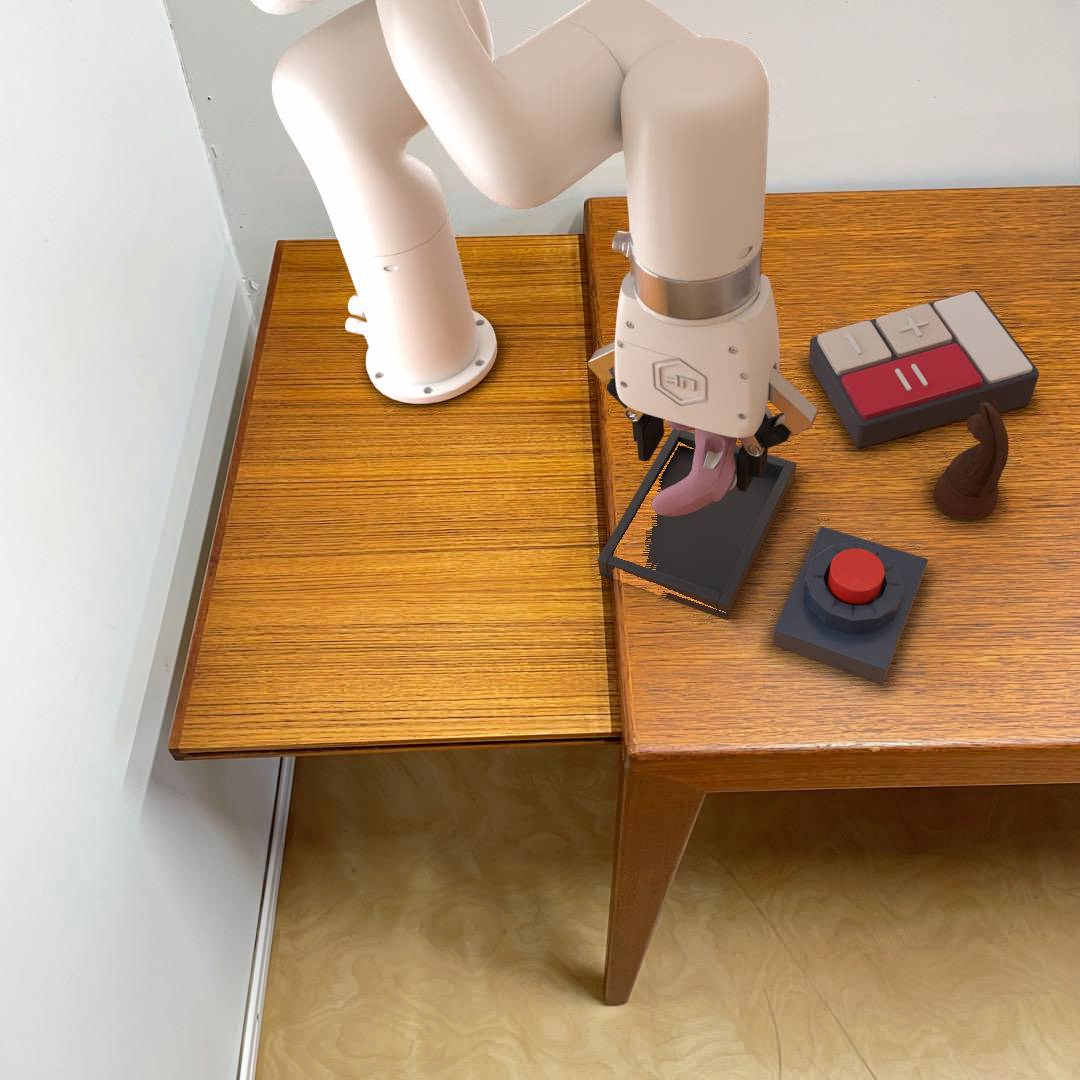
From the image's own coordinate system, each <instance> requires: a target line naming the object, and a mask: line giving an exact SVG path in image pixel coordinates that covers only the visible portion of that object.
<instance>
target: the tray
mask: <svg viewBox="0 0 1080 1080" xmlns="http://www.w3.org/2000/svg"><path fill="white" fill-rule="evenodd" d="M678 442H681V443H683V444H685V445H687V446H689V447H692V448H694V449H695V448H696V445H695V432H692V431H679V430H675V429H672V430H671V432H670V433H669V435H668V437H667V439H666V440H665V442H664V444H663V445H662V447H661V449H660V451H659V452H658V454H657V456H656V458H655V459H654V461H653V463H652V465H651V466H650V468H649V470H648V471H647V473H646V475H645V476H644V479H643V480H642V482H641V483H640V485H639V486H638V488H637V490H636V492H635V494H634V495H633V497H632V499H631V501H630V502H629V504H628V506H627V508H626V509H625V511H624V513H623V514H622V516H621V518H620V520H619V522H618V523H617V525H618V526H617V525H616V526H615V528H614V530H613V532H612V534H611V536H610V537H609V539H608V540H607V542H606V544H605V546H604V547H603V549H602V551H601V552H600V553H599V556H598V558H597V565H598V573H599V575H600V576H602V577H606V578H607V579H611V580H614V579H613V573H612V570H613V569H614V568H615V567H616V568H617V567H618V568H619V569H622V570H623V571H625V572H628V573H630V574H633V575H635V576H637V577H640V578H642V579H646V580H647V581H649V582H653V583H656V584H658V585H660V586H663V587H665V588H667V589H669V590H673V591H675V592H678V593H679V594H682V595H684V596H686V597H690V598H692V599H694V600H697V601H700V602H702V603H704V604H706V605H708V606H711V607H713V608H716V609H717V610H716V609H713V608H710V607H708V606H705V605H702V604H699V603H696V602H694V601H691V600H688V599H685V598H682V597H679V596H677V595H674V594H671V593H662V594H667V595H661V596H666V597H663V598H664V599H665V600H666V599H667V600H669V601H672V602H675V603H678V604H680V605H682V606H686V607H689V608H692V609H694V610H697V611H699V612H703V613H705V614H708V615H711V616H713V617H717V618H718V619H719V618H720V619H721V620H725V621H728V620H729V618H730V616H731V614H732V612H733V610H734V608H735V606H736V603H737V601H738V600H739V598H740V595H741V593H742V590H743V589H744V587H745V585H746V582H747V580H748V578H749V576H750V574H751V572H752V570H753V568H754V566H755V564H756V562H757V560H758V557H759V556H760V554H761V551H762V549H763V547H764V545H765V543H766V541H767V538H768V536H769V534H770V533H771V530H772V528H773V526H774V523H775V522H776V520H777V517H778V516H779V513H780V512H781V509H782V507H783V505H784V503H785V501H786V499H787V497H788V494H789V493H790V490H791V489H792V486H793V485H794V482H795V480H796V472H797V462H795V461H792V460H788V459H785V458H782V457H778V456H775V455H771V454H768V456H767V464H766V468H765V470H764V472H763V474H762V476H761V478H757V477H753V479H752V481H751V483H750V485H749V487H748V489H747V491H746V492H744V491H740V490H738V488H737V487H736V485H735V486H734V487H733V488H732V489H731V490H729V491H728V490H727V491H726V493H725V495H724V496H723V497H722V498H721V499H720V500H719V501H718V502H711V503H710V504H708V505H706V506H705V507H703V508H701V509H699V510H697V511H694V512H692V513H689V514H685V515H680V516H663V515H659V514H657V515H655V516H657V517H651V518H657V519H652V520H656V521H657V522H652V523H657V524H652V525H657V526H652V527H653V528H652V529H650V530H652V531H646V532H652V533H646V534H652V535H646V536H650V537H646V538H647V539H646V540H645V541H651V542H645V543H652V544H645V545H649V546H650V547H649V546H646V547H647V548H650V549H645V550H650V551H643V552H649V553H643V554H649V555H642V556H648V558H649V559H647V562H646V563H652V564H646V565H651V566H645V567H643V566H640V565H637V564H635V563H632V562H629V561H626V560H623V559H620V558H617V557H614V556H613V554H614V551H615V549H616V547H617V545H618V543H619V542H620V540H621V539H622V537H623V535H624V534H625V532H626V530H627V529H628V527H629V525H630V523H631V522H632V520H633V518H634V517H635V515H636V513H637V511H638V509H639V508H640V506H641V504H642V502H643V501H644V499H645V497H646V495H647V494H648V493H649V491H650V489H651V487H652V485H653V484H654V483H655V481H656V479H657V478H658V476H659V474H660V473H661V471H662V470H663V468H664V466H665V464H666V463H667V461H668V460H669V458H670V456H671V455H672V453H673V452H674V450H675V448H676V446H677V444H678ZM740 448H741V445H737V444H736V446H735V450H734V454H733V456H734V458H735V471H734V474H736V476H737V455H738V452H739V450H740ZM694 449H690V448H687V447H684V446H680V445H679V446H678V448H677V450H676V451H675V453H674V455H673V457H672V458H671V460H670V462H669V464H668V465H667V467H666V469H665V471H664V472H663V474H662V476H661V478H662V479H659V481H662V482H659V483H660V484H661V485H660V486H658V487H661V489H658V490H664V489H666V488H668V487H670V486H672V485H675V484H676V483H678V482H680V481H681V480H683V479H685V478H686V477H687V476H688V475H689V474H690V472H691V470H692V465H693V458H694V453H695V450H694ZM657 492H661V491H657ZM648 525H649V524H648ZM648 539H651V540H648ZM652 561H653V562H652ZM657 563H658V564H657ZM654 565H657V566H654ZM646 567H651V568H646ZM653 567H656V568H653ZM652 569H656V570H652ZM658 590H659V589H658ZM663 592H665V591H663ZM661 596H660V597H661ZM719 610H721V611H719ZM722 611H724V612H726V613H724V612H722Z"/></svg>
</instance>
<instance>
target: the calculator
mask: <svg viewBox="0 0 1080 1080" xmlns="http://www.w3.org/2000/svg"><path fill="white" fill-rule="evenodd" d="M808 365H809V366H810V368H811V370H812V372H813V374H814V375H815V377H816V379H817V381H818V382H819V385H820V386H821V388H822V390H823V392H824V393H825V395H826V397H827V398H828V400H829V402H830V404H831V406H832V407H833V409H834V410H835V413H836V414H837V416H838V418H839V420H840V422H841V424H842V425H843V427H844V429H845V430H846V432H847V434H848V436H849V437H850V439H851V441H852V442H853V445H854V446H855V447H856V448H858V449H863V448H867V447H870V446H874V445H877V444H880V443H884V442H888V441H891V440H894V439H897V438H902V437H905V436H908V435H909V436H910V435H912V434H916V433H918V432H922V431H926V430H929V429H932V428H936V427H940V426H942V425H943V426H944V425H946V424H950V423H953V422H956V421H960V420H964V419H967V418H968V417H971V416H975V415H979V414H981V408H980V403H984V402H987V403H989V404H991V405H992V406H993V401H994V400H996V403H997V407H998V411H999V414H1000V413H1004V412H1007V411H1010V410H1014V409H1018V408H1021V407H1025V406H1027V405H1029V404H1030V403H1031V401H1032V398H1033V395H1034V392H1035V389H1036V386H1037V382H1038V379H1039V376H1040V370H1038V367H1036V365H1035V364H1034V363H1033V361H1032V360H1031V359H1030V357H1029V356H1028V355H1027V353H1026V352H1025V350H1024V349H1023V348H1022V347H1021V345H1020V344H1019V343H1018V342H1017V341H1016V339H1015V338H1014V336H1013V335H1012V334H1011V333H1010V332H1009V330H1008V329H1007V328H1006V326H1005V325H1004V324H1003V322H1002V321H1001V320H1000V318H999V317H998V316H997V314H996V313H995V312H994V311H993V309H992V308H991V307H990V306H989V304H988V303H987V301H986V300H985V299H984V297H983V296H982V294H980V292H979V291H977V290H969V291H965V292H962V293H958V294H956V295H952V296H949V297H945V298H942V299H941V298H940V299H938V300H935V301H932V302H931V301H930V302H927V303H922V304H918V305H916V306H911V307H909V308H905V309H901V310H898V311H894V312H891V313H888V314H885V315H880V316H878V317H877V318H873V319H870V320H864V321H860V322H856V323H853V324H850V325H847V326H846V325H845V326H843V327H840V328H836V329H833V330H829V331H825V332H822V333H820V334H818V335H815V336H812V337H811V338H810V340H809V354H808Z"/></svg>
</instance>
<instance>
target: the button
mask: <svg viewBox="0 0 1080 1080" xmlns="http://www.w3.org/2000/svg"><path fill="white" fill-rule="evenodd" d="M884 574H885V570H884V566H883V564H882V562H881V561H880V559H879V558H878V557H877V556H876V555H874V554H873V553H871V552H869V551H867V550H863V549H847V550H844V551H842V552H840V553H839V554H837V555H836V556H835V557H834V559H833V560H832V562H831V566H830V572H829V577H828V585H829V588H830V590H831V592H832V593H833V594H834V596H836V597H837V598H838V599H839V600H841V601H843V602H846V603H849V604H856V605H858V604H865V603H868V602H870V601H872V600H873V599H875V598H876V597H877V596H878V594H879V592H880V590H881V586H882V582H883V579H884Z"/></svg>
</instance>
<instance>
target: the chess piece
mask: <svg viewBox="0 0 1080 1080" xmlns="http://www.w3.org/2000/svg"><path fill="white" fill-rule="evenodd" d="M980 408H981V414H978V415H974V416H971V417H967V418H966V428H967V431H968V432H969V433H970V434H971V435H972V436H973V438H974V439H975V440H976V441H978V442H979V443H977V444H975V445H973V446H971V447H969V448H966V449H965V450H964V451H962V452H960V453H959V454H957V456H955V457H954V458H953V459H952V461H951V462H950V463H949V464H948V465H947V467H946V468H945V469H944V471H943V472H942V473H941V474H940V476H939V477H938V479H937V482H936V483H935V485H934V488H933V493H932V494H933V500H934V503H935V505H936V507H937V508H938V510H939V511H941V512H942V513H943V514H944V515H946V516H947V517H949V518H952V519H954V520H957V521H962V522H975V521H979V520H982V519H984V518H986V517H988V516H990V515H991V514H992V513H993V511H995V507H996V505H997V502H998V497H999V491H1000V490H999V486H998V485H999V481H1000V478H1001V477H1002V475H1003V472H1004V470H1005V468H1006V465H1007V462H1008V458H1009V450H1010V449H1009V446H1010V445H1009V435H1008V432H1007V429H1006V426H1005V423H1004V420H1003V418H1002V415H1001V414H1000V413H999V411H998V407H997V403H996V400H994V401H993V406H992V405H991V404H989V403H987V402H984V403H980Z"/></svg>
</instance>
